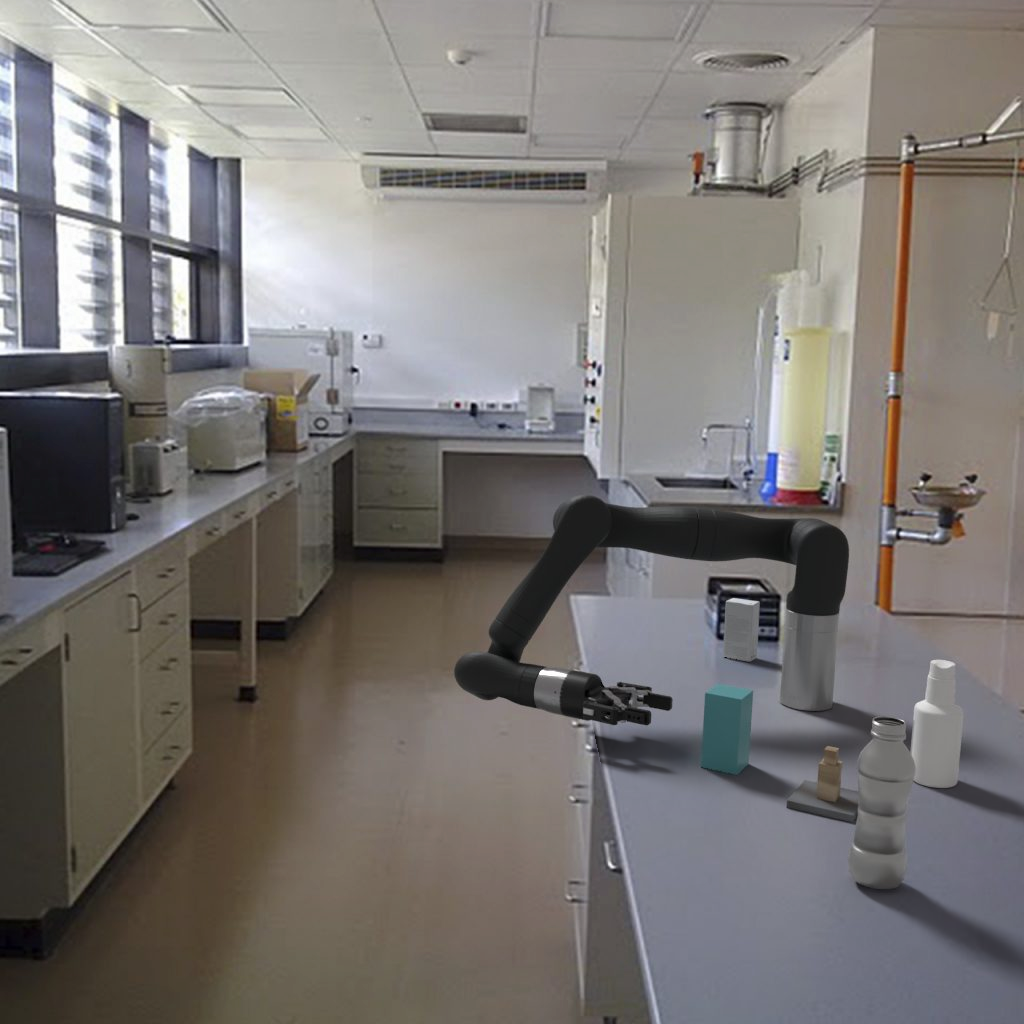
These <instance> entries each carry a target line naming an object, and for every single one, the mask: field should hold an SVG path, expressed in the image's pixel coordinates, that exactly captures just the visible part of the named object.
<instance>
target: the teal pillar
mask: <svg viewBox="0 0 1024 1024" xmlns="http://www.w3.org/2000/svg"><path fill="white" fill-rule="evenodd" d="M753 701H754V690H753V689H749V688H743V687H738V686H732V685H726V684H723V683H722V684H721V683H717V684H715V685H714V686H713V687H711V688H710V689H709V690H707V691H705V693H704V704H703V705H704V706H703V707H704V710H703V724H702V742H701V743H702V744H701V746H702V747H701V760H700V768H702V767H703V769H707V768H708V770H711V769H712V770H713V771H716V770H717V771H716V772H720V771H721V773H725V774H729V773H730V775H734V776H737V775H739V774H740V772H742V771H743V770H744V769H745V768H747V766H748V765H749V764H750V750H751V747H750V746H751V733H752V731H751V730H752V717H753ZM712 770H711V771H712Z"/></svg>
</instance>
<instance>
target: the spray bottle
mask: <svg viewBox="0 0 1024 1024" xmlns="http://www.w3.org/2000/svg"><path fill="white" fill-rule="evenodd" d="M955 674H956V663H955V662H953V661H949V660H946V659H945V660H944V659H933V660H930V667H929V672H928V675H927V679H926V682H927V683H926V689H925V694H924V695H925V697H924V699H922V700H920V701H918V702H917V703H915V704H914V708H913V719H912V729H911V742H910V751H909V752H910V754H911V755H912V757H913V759H914V762H915V767H916V771H915V777H914V780H913V783H914V782H915V783H916V784H918V785H922V786H924V787H928V788H933V789H935V788H936V789H948V788H953V787H955V786H957V784H958V780H959V768H960V760H961V759H960V758H961V748H962V738H963V737H962V736H963V725H964V710H963V709H962V708H961V707H960V706H959V705H957V704H956V701H955V700H956V692H955V691H956V683H957V682H956V681H957V679H956V675H955Z"/></svg>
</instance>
